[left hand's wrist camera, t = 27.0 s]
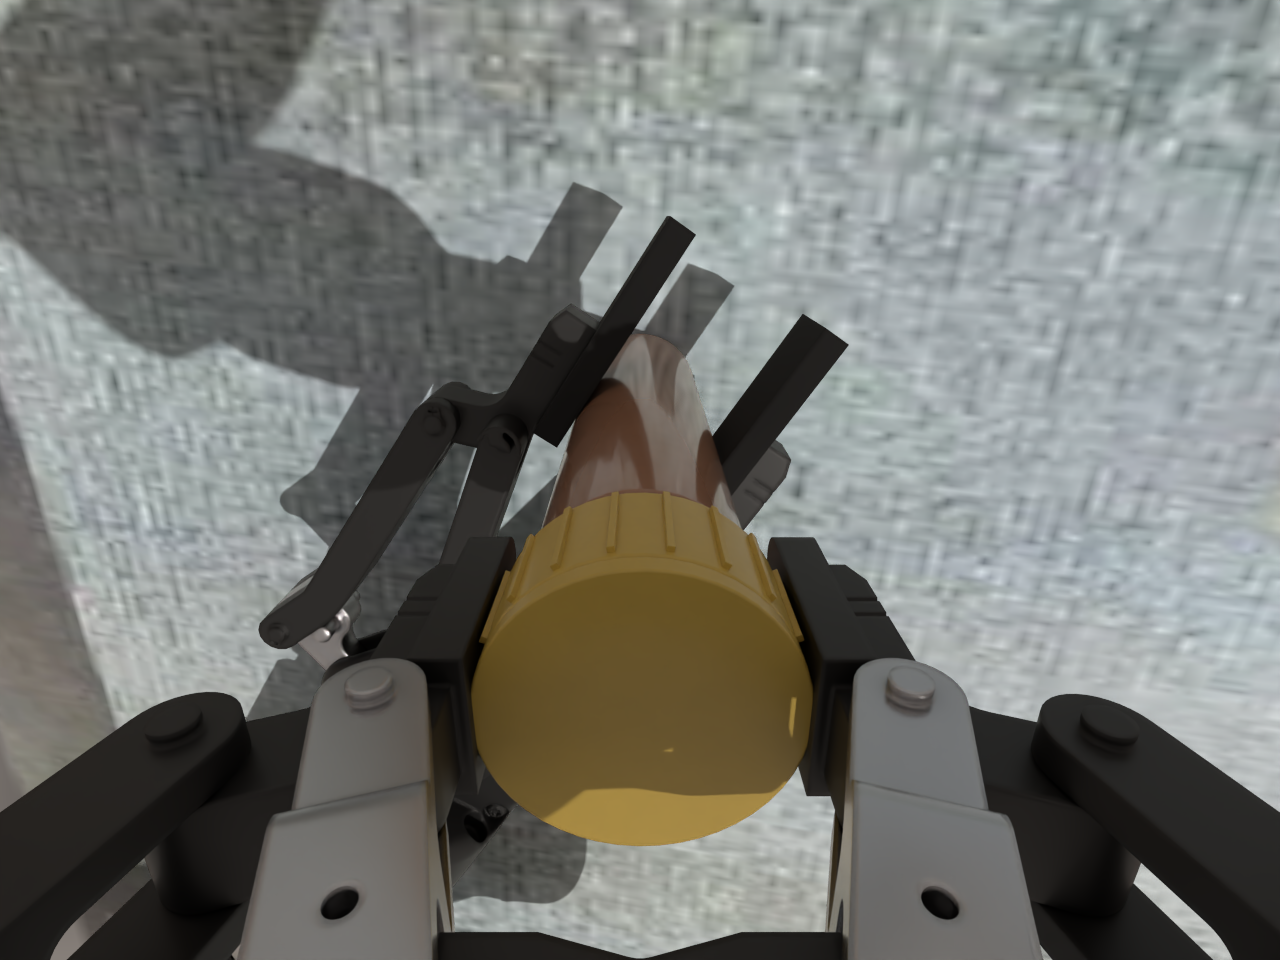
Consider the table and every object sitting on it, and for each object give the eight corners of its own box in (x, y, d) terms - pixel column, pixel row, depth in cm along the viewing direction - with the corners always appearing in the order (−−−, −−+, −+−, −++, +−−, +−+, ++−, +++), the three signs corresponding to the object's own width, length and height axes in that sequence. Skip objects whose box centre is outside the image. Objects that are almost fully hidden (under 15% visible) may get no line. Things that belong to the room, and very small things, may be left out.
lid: (441, 567, 11) (390, 662, 9) (704, 433, 10) (723, 499, 8) (589, 766, 12) (578, 891, 10) (828, 663, 11) (875, 775, 9)
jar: (572, 416, 26) (468, 740, 10) (608, 317, 25) (552, 513, 9) (669, 451, 27) (714, 812, 11) (710, 356, 25) (830, 609, 9)
